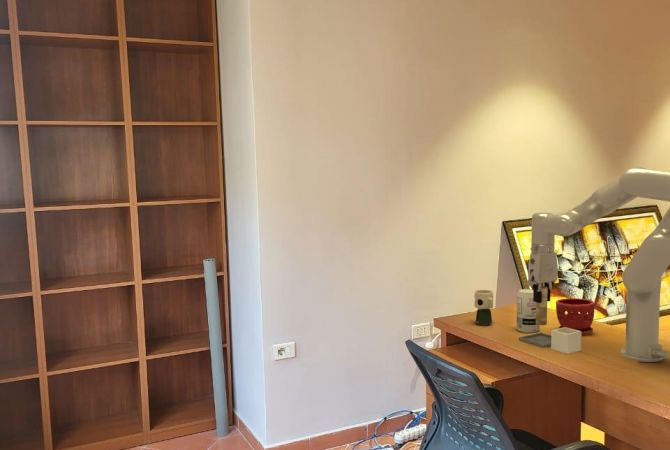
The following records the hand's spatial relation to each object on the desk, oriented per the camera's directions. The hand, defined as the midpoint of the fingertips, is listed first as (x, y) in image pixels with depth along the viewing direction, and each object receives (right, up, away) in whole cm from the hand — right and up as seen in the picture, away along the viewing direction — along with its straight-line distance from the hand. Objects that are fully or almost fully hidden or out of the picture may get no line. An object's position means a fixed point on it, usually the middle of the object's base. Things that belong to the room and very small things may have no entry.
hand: (541, 300), depth 217 cm
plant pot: (+16, -13, +12) cm, 24 cm away
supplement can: (+1, -13, +17) cm, 22 cm away
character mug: (-13, -13, +28) cm, 33 cm away
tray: (+1, -15, +1) cm, 15 cm away
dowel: (0, -8, +1) cm, 8 cm away
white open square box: (+5, -16, -9) cm, 19 cm away
